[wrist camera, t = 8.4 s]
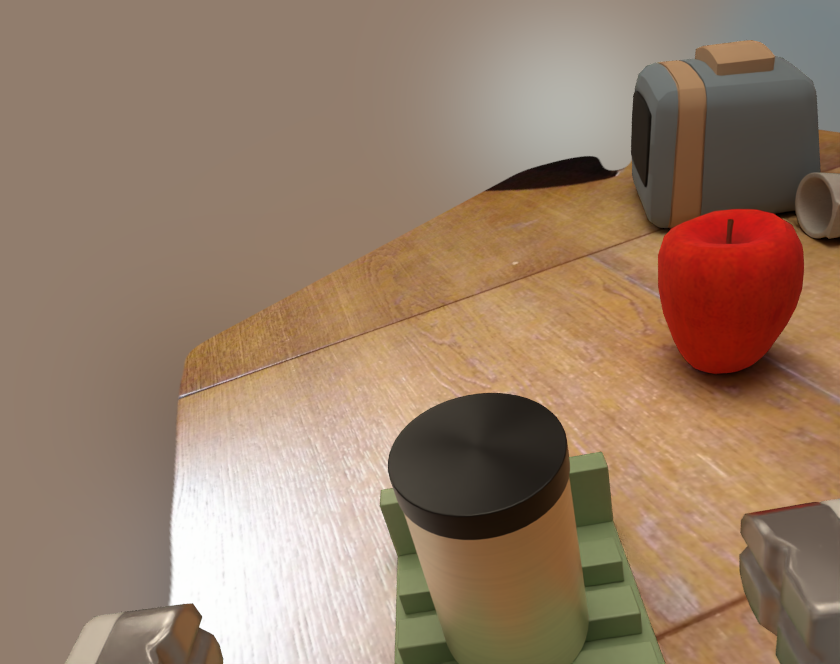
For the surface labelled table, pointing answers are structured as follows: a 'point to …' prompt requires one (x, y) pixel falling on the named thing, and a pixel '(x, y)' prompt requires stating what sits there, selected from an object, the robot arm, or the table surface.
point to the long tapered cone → (819, 205)
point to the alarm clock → (722, 133)
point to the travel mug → (494, 528)
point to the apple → (729, 286)
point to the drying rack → (602, 572)
